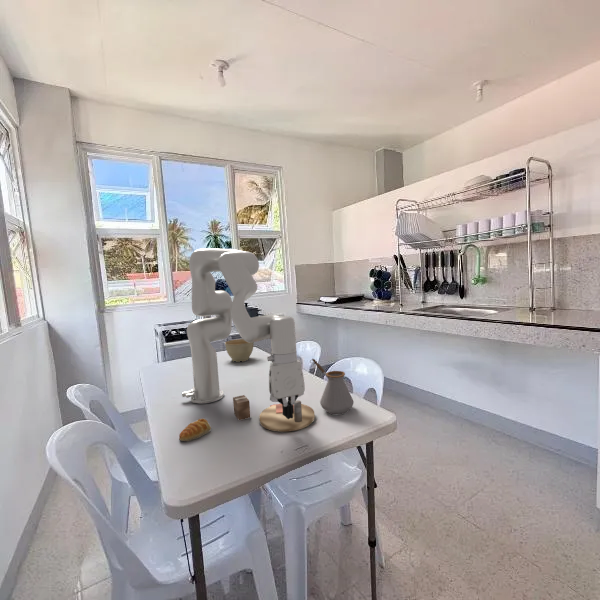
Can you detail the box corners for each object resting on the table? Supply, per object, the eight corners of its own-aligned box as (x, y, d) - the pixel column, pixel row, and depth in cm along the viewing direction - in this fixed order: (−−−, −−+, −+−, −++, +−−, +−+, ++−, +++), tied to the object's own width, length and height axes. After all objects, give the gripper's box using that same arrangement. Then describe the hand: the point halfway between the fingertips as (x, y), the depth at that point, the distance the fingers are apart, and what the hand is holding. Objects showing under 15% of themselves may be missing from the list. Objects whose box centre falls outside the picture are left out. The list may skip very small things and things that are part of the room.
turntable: (300, 435, 94) (299, 410, 94) (248, 426, 102) (247, 403, 101) (322, 410, 111) (321, 389, 110) (276, 404, 118) (275, 384, 118)
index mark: (273, 410, 114) (273, 408, 114) (270, 406, 117) (270, 405, 117) (279, 408, 115) (279, 407, 115) (275, 405, 118) (275, 404, 118)
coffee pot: (360, 411, 109) (359, 368, 108) (332, 420, 104) (330, 374, 103) (326, 392, 128) (324, 355, 127) (300, 399, 123) (298, 360, 121)
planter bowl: (260, 357, 188) (259, 339, 187) (242, 365, 174) (241, 345, 173) (239, 355, 196) (238, 337, 195) (220, 362, 182) (218, 343, 182)
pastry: (189, 445, 93) (187, 432, 93) (173, 440, 97) (172, 428, 96) (213, 431, 101) (212, 419, 101) (198, 427, 105) (197, 415, 104)
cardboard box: (238, 420, 107) (237, 402, 107) (234, 414, 113) (232, 396, 112) (250, 417, 109) (249, 399, 109) (245, 411, 114) (244, 394, 114)
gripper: (264, 364, 91) (269, 428, 92) (312, 356, 97) (316, 415, 98) (256, 359, 98) (261, 418, 99) (301, 351, 104) (305, 407, 105)
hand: (288, 416), depth 98 cm, fingers closed
